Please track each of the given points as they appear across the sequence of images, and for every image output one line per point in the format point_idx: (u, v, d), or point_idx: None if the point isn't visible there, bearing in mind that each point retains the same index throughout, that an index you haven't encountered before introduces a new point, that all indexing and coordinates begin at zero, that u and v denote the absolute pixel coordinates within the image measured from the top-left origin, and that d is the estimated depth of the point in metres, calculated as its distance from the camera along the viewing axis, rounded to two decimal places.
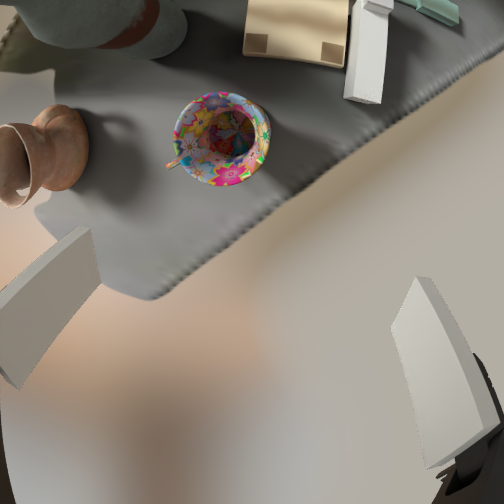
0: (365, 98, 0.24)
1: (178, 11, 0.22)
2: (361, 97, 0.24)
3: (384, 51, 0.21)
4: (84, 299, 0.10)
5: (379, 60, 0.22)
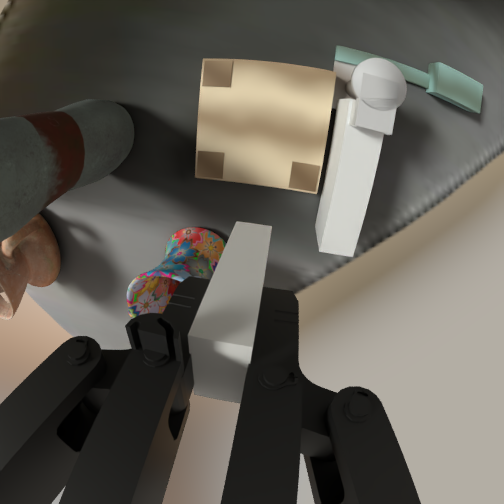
0: (334, 252, 0.24)
1: (114, 125, 0.22)
2: (329, 252, 0.25)
3: (368, 190, 0.21)
4: None
5: (359, 204, 0.22)
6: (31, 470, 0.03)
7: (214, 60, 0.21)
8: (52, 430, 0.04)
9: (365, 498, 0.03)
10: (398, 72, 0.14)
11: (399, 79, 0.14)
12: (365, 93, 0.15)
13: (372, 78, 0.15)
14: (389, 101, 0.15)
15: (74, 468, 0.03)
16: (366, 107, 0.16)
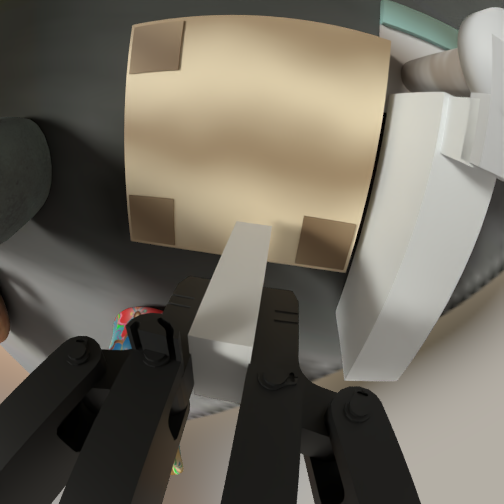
0: (369, 379, 0.13)
1: (5, 159, 0.10)
2: (361, 379, 0.13)
3: (450, 288, 0.09)
4: None
5: (430, 312, 0.10)
6: (31, 470, 0.03)
7: (151, 24, 0.09)
8: (51, 430, 0.04)
9: (365, 498, 0.03)
10: None
11: None
12: (500, 85, 0.04)
13: None
14: None
15: (74, 468, 0.03)
16: (502, 122, 0.04)
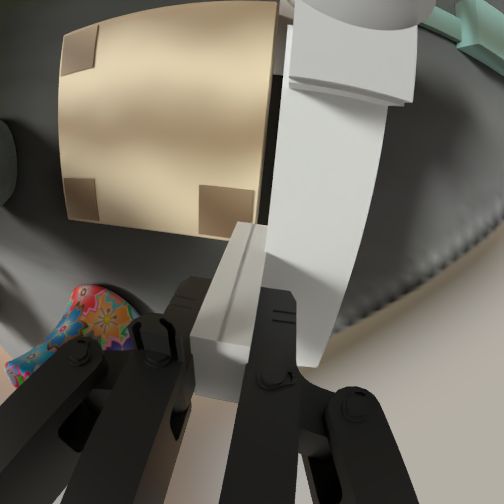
0: None
1: None
2: None
3: (351, 252, 0.09)
4: None
5: (329, 282, 0.10)
6: (32, 471, 0.03)
7: (76, 32, 0.09)
8: (53, 431, 0.04)
9: (363, 498, 0.03)
10: None
11: None
12: None
13: None
14: (393, 5, 0.04)
15: (75, 469, 0.03)
16: (321, 19, 0.04)
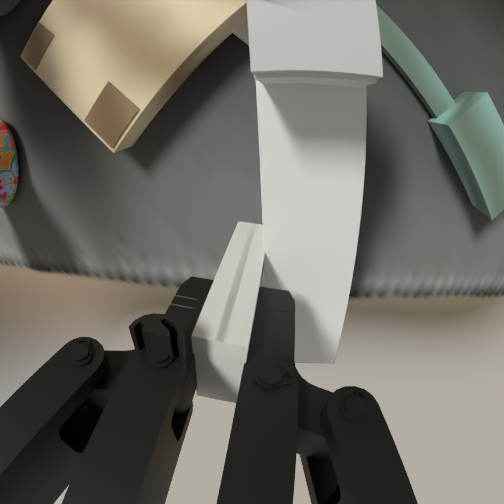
0: (297, 360, 0.12)
1: None
2: None
3: (351, 242, 0.09)
4: None
5: (333, 274, 0.10)
6: (33, 471, 0.03)
7: None
8: (54, 431, 0.04)
9: (361, 498, 0.03)
10: None
11: None
12: None
13: None
14: None
15: (77, 469, 0.03)
16: (274, 10, 0.04)
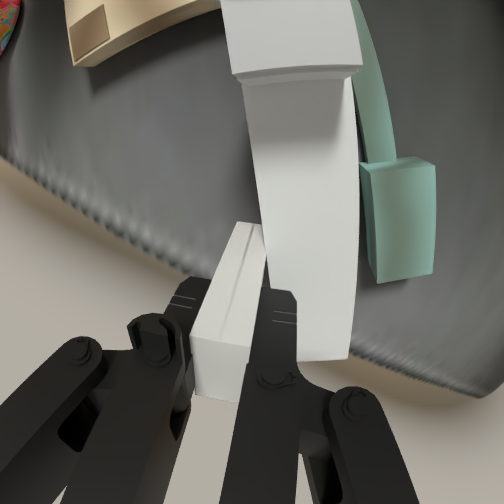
0: (310, 359, 0.12)
1: None
2: (300, 359, 0.12)
3: (352, 234, 0.09)
4: None
5: (338, 269, 0.10)
6: (32, 471, 0.03)
7: None
8: (52, 430, 0.04)
9: (363, 498, 0.03)
10: None
11: None
12: None
13: None
14: None
15: (75, 468, 0.03)
16: (249, 12, 0.04)
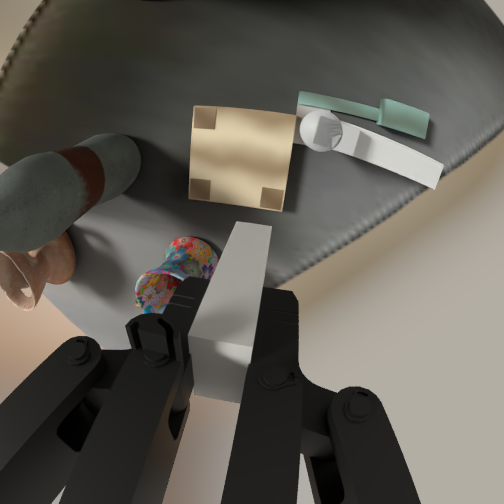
0: (438, 178, 0.25)
1: (126, 156, 0.31)
2: (436, 182, 0.26)
3: (398, 145, 0.25)
4: None
5: (407, 153, 0.25)
6: (31, 470, 0.03)
7: (202, 107, 0.29)
8: (51, 429, 0.04)
9: (365, 498, 0.03)
10: (311, 114, 0.23)
11: (316, 115, 0.23)
12: (329, 144, 0.24)
13: (317, 137, 0.24)
14: (335, 126, 0.23)
15: (74, 468, 0.03)
16: (339, 145, 0.24)
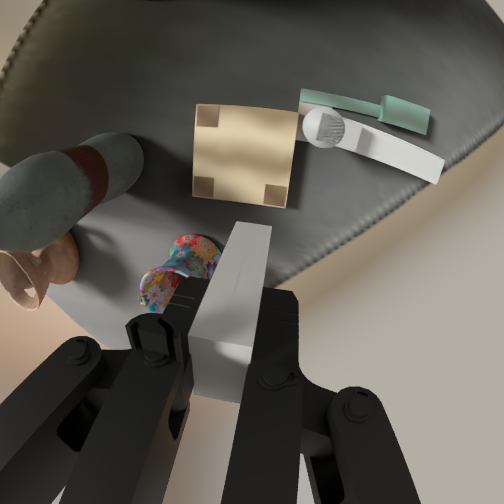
0: (439, 173, 0.25)
1: (129, 155, 0.31)
2: (438, 177, 0.26)
3: (400, 141, 0.25)
4: None
5: (408, 149, 0.25)
6: (31, 470, 0.03)
7: (205, 105, 0.29)
8: (51, 430, 0.04)
9: (365, 498, 0.03)
10: (313, 111, 0.23)
11: (319, 112, 0.23)
12: (331, 140, 0.24)
13: (320, 133, 0.24)
14: (337, 123, 0.23)
15: (74, 468, 0.03)
16: (342, 141, 0.24)
